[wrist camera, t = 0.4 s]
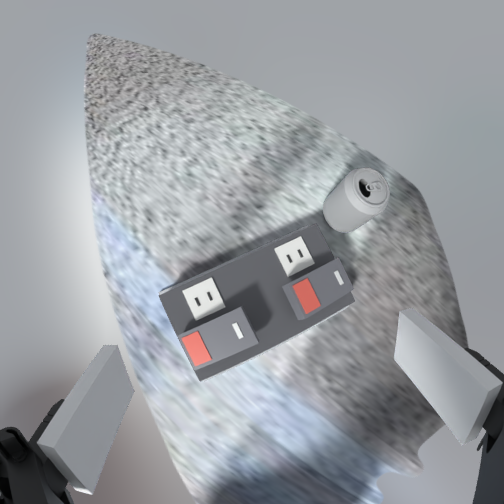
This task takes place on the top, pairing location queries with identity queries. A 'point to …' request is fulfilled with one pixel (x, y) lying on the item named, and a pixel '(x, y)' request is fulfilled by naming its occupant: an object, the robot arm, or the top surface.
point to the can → (356, 200)
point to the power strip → (253, 294)
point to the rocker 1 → (219, 338)
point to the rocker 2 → (318, 289)
